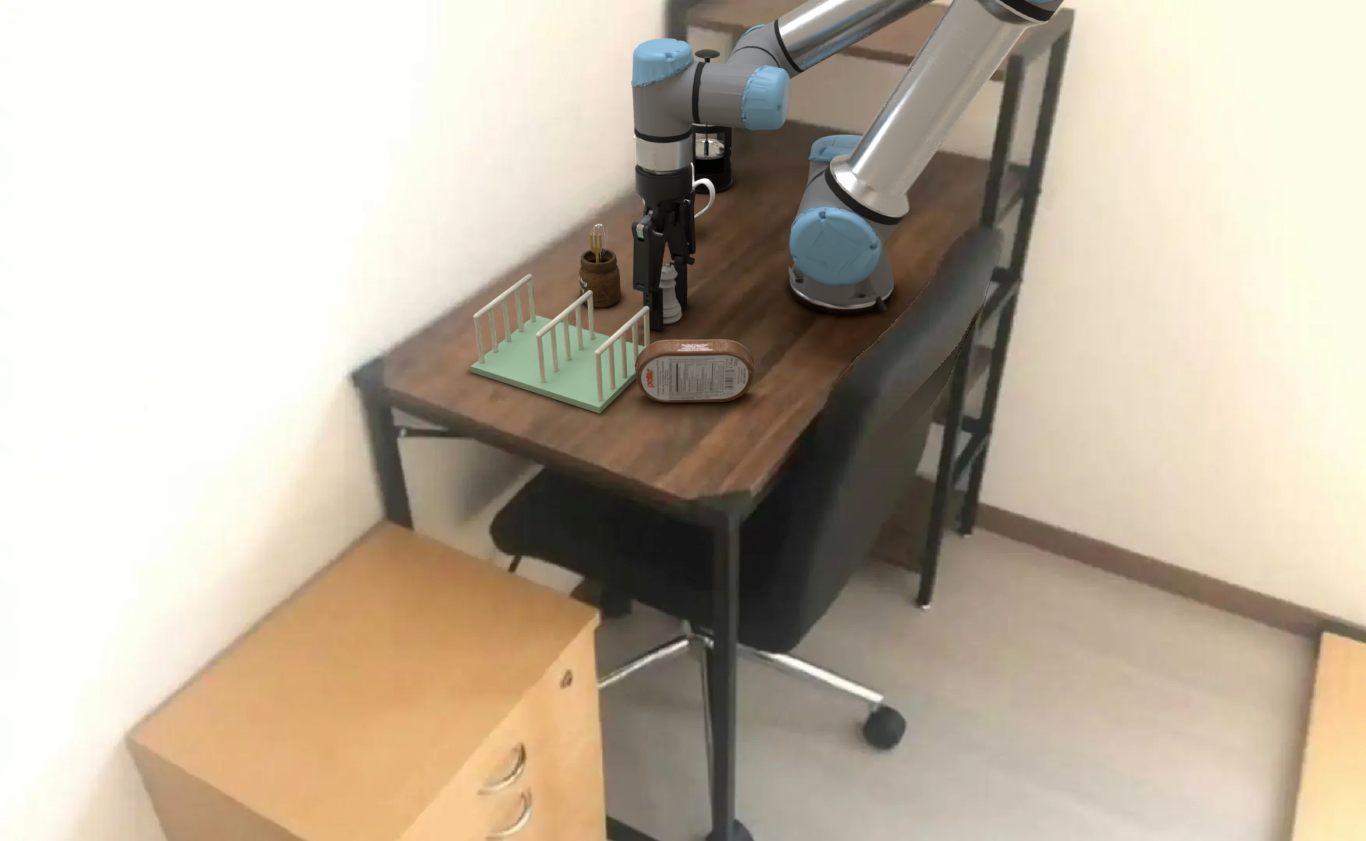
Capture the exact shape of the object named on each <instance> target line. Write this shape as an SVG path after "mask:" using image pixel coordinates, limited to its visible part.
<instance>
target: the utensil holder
mask: <svg viewBox="0 0 1366 841" xmlns="http://www.w3.org/2000/svg"><path fill="white" fill-rule="evenodd" d="M596 227H602V229H603V230H604V231H603V232H604V233H603V234H604V244H606V243H607V244H608V243H609V235H608V232H607V230H605V229H607V227H606V226H605V225H604V224H602V223H596V224H595V225H593V227H592V228H593V229H590V230H591V232H590V234H589V243H590V249H588V250H585V251H584V252H583V253H582V254H581V256H580V262H579V264H580V267H579V270H578V284H579V295H580V297H581V296H582V295H584V294H585V293H586V292H587V291H589V290H591V291H592V292H593V295H592V296H593V308H597V309H598V308H601V309H602V308H608V307H611V306H614V305H615V304H616V303H618V301H619V300H620V298H621V272H620V267H619V266H618V258H617V255H616V253H615V252H614V251H613V250H611V249H609V248H608V245H604V247H603V244H602V235H601V234H598V237H597V234H595V229H596ZM592 233H593V234H592ZM606 241H607V242H606ZM583 304H585V305H586V306H588V300H586V301H585V302H583Z"/></svg>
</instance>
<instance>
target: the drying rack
mask: <svg viewBox="0 0 1366 841" xmlns="http://www.w3.org/2000/svg"><path fill="white" fill-rule="evenodd" d="M525 284H527V291H528V304H529V313H530V318H529V319H528V320H526V321H525V322H524V318H523V308H522V298H521V288H522V287H523V286H525ZM512 294H514V299H515V308H516V317H517V327H518V328H516V329H515V330H514V331H512V332H511V325H510V319H509V318H510V317H509V306H508V297H510V296H511V295H512ZM534 294H535V293H534V283H533V275H532V274H531V273H528V274H526V275H525V276H524V277H522V278H521V279H519V280H518V281H517V282H515V283H514V284H513V285H511V286H510V287H508V288H507V289H506V290H505V291H504V292H502V293H501V294H499V295H498V296H497V297H496V298H494V299H492V300H491V301H490V302H489V303H487V304H486V305H485V306H483V307H482V308H480V309H479V310H478V311H477V312H475V313H474V314H473V316H472V317H473V323H474V329H475V330H474V331H475V339H476V345H477V353H478V360H476V361H475V362H474V363H473V364H471V365H470V372H471V373H472V374H475V375H479V376H481V377H485V378H488V379H491V380H495V381H497V382H501V383H503V384H507V385H510V386H512V387H516V388H519V389H523V390H526V391H528V392H532V393H534V394H537V395H541V396H543V397H547V398H550V399H553V400H557V401H560V402H562V403H565V404H568V405H572V406H575V407H578V408H581V409H584V410H587V411H591V412H593V413H597V414H600V415H601V413H603V411H605V409H606V408H607V407H608V406H609V405H610V404H611V403H613V402H614V400H616V399H617V398H618V396H620V394H622V393H623V392H624V391H625V390H626V389H627V388H628V387H630V385H631V384H632V383H633V382H634V381H635V380H636V371H635V363H636V359H637V357H638V355H639V353H640V352H641V351H642V350H643V349H644V348H645V347H647V346H648V345H650V344H651V336H650V335H651V334H650V332H651V331H650V328H649V307H648V306H645V307H643V306H642V308H641V309H640V310H639V311H638V312H637V313H635V314H634V315H633V316H632V317H631V318H630V319H629V320H628V321H626V322H625V323H624V324H623V325H622V326H621V327H620V328H619V329H618V330H616V331H615V332H614V333H613V334H612V335H611V336H610V335H607V334H606V335H605V334H603V333H599V332H596V331H595V317H594V316H595V315H594V307H593V296H592V295H593V292H592V291H591V290H589V291H587V292H586V293H585V294H584V295H582V296H580V297H578V298H577V299H576V300H575V301H573V302H572V303H571V304H570V305H569V306H568V307H566V308H565V309H564V310H563V311H562V312H560V313H559V314H557V315H556V316H555V317H554V318H553V319H550V318H548V317H544V316H540V315H537V314H536V303H535V295H534ZM586 300H588V305H587V315H588V329H586V328H583V324H582V310H581V305H582V304H584V302H585V301H586ZM500 303H501V309H502V317H503V325H504V334H505V338H504V339H502V341H500V342H499V343H498V337H497V329H496V321H495V320H496V319H495V312H494V311H495V310H494V308H496V307H497V306H498V305H500ZM574 311H575V312H574ZM573 312H574V313H575V325H571V324H570V323H569V316H570V315H571V313H573ZM487 313H488V322H489V329H490V338H491V345H492V346H491V347H492V348H491V349H490V350H489V351H487V353H485V351H484V344H483V335H482V328H481V320H480V319H481V318H482V317H484V316H485V315H486V314H487ZM642 318H643V334H644V335H643V336H644V339H643V340H644V345H641V344H639V326H638V324H639V322H638V321H640V320H641V319H642ZM630 329H632V330H631V332H632V333H631V334H632V342H630V341H627V331H628V330H630Z"/></svg>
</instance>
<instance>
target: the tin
mask: <svg viewBox="0 0 1366 841" xmlns="http://www.w3.org/2000/svg"><path fill="white" fill-rule="evenodd" d="M644 347H645V346H644ZM754 365H755V363H754V357H753V356H752V353H751V352H750V350H749V349H748V348H747V347H746V345H743V344H742V343H740V342H738V341H735V340H732V339H725V338H724V339H722V338H720V339H719V338H718V339H717V338H716V339H661V340H657V341H655V342H651V343H650V345H648V346H647V347H645V348H644V349H643V350H642V351H641V352H640V353H639V355H638V357H637V359H636V363H635V371H636V379H635V380H636V384H637V386H638V388H639V390H640V391H641V392H642V393H643V394H644V395H645V396H646V397H648V398H649V399H651V400H653V401H656V402H659V403H666V404H667V403H668V404H669V403H724V402H725V403H726V402H731V401H733V400H736V399H739V398H740V397H742V396H744V394H746V393H747V392H748V390H749V389H750V388H751V386H752V385H753V381H754V378H755V369H754V368H755V366H754Z"/></svg>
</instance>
